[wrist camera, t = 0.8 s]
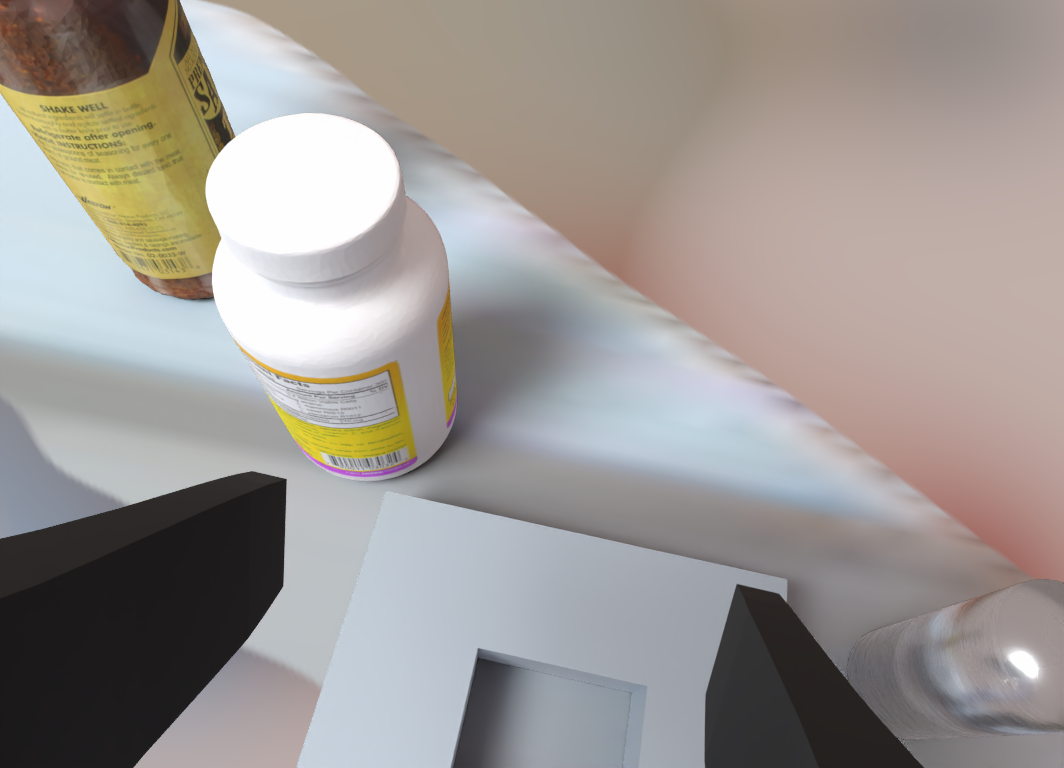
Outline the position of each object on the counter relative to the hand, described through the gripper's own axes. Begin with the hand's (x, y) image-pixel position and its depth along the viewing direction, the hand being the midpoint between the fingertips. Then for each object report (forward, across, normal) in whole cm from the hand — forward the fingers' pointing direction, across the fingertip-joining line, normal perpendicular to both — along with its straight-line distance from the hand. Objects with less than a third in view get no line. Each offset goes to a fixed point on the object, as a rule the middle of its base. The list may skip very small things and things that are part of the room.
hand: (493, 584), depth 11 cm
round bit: (+13, -13, +9) cm, 21 cm away
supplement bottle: (+16, +8, +5) cm, 18 cm away
